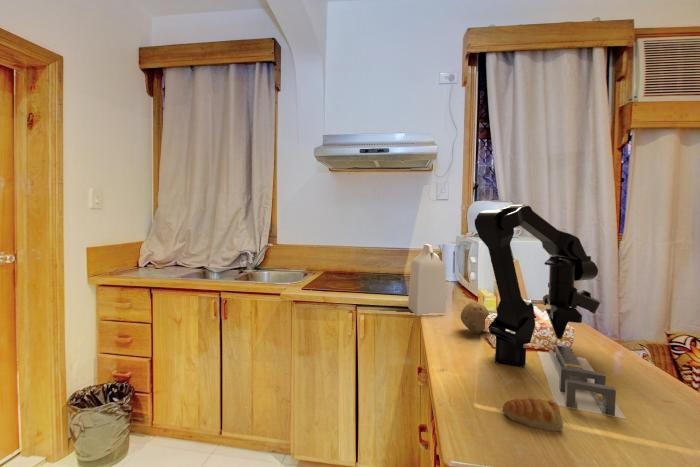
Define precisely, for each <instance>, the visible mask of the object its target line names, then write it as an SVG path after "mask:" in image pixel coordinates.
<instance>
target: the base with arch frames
mask: <svg viewBox="0 0 700 467" xmlns="http://www.w3.org/2000/svg"><path fill="white" fill-rule="evenodd" d="M536 352H537V354H538V358H539V361H540V364H541V365H542V369H543V372H544V374H545V378H546V380H547V384H548V386H549V388H550V392H551V395H552V397H553V401H554V402H556V403H557V404H558V406H559V407H562V408H563V407H564V408H568V409H573V410H577V411H582V412H588V413H593V414H596V415H597V414H599V415H603V416H609V417H613V418H620V419H623V420H627V417H626V416H625V415H624V412H622V410H621V408H620V407H619V405H618V404H617V402H616V398H617V390H616V389H615V387H614V386H611V385H607V384H606V375H605V373H604V372H599V371H595V370H594V368H593V367H592V366H591V364H590V363H589V361H588V360H587V358H585V357H580V356H576V354H575V353H574V355H575V357H576V358H577V360H578V362H579V363H580V365H581V366H582V368H583V370H581V369H574V368H568V367H561V366H560V365H559V363H558V360H557V358H556V353H555V352H554V350H553V349H548V352H543V351H536ZM569 375H571V376H577V377H583V378H587V382H582V381H576V380H570V379H569Z"/></svg>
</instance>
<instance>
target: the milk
mask: <svg viewBox="0 0 700 467" xmlns="http://www.w3.org/2000/svg"><path fill="white" fill-rule="evenodd" d="M409 271H410V272H409V283H408V284H409V286H408V299H407V300H408V301H407V308H408V309H409V310H410V311H411V312H413V314H414V315H416V317H422V316H421V315H422V314H429V313H447V312H448V311H447V267H446V265H445V263H444V262H443V261H442V260H441V259H440V256H439V255H438V254H437V253H435V252H434V248H433V245H431V244H428V243H423V247H422V250H421V252H420V253H419V254H418V255H417V256H415V257H414V258H413V259H412V260H411V262H410V270H409Z"/></svg>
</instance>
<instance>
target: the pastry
mask: <svg viewBox="0 0 700 467" xmlns="http://www.w3.org/2000/svg"><path fill="white" fill-rule="evenodd" d="M502 412H503V413H504V415H506V417H508V418H509V419H510V420H512V421H514V422H518V423H520V424H523V425H526V426H528V427H530V428H537V429H542V430H547V431H552V432H560V431H562V429H564V421H563V417H562V414H561V409H560V406H558V404H557V403H556V402H555V400H554V399H549V400H546V399H543V398H538V397H537V398H536V397H534V396H531V397H527V398H515V399H510V400H506V401H505V403H504V404H503V407H502Z"/></svg>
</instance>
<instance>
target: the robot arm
mask: <svg viewBox="0 0 700 467" xmlns="http://www.w3.org/2000/svg"><path fill="white" fill-rule="evenodd" d="M474 227H475V230H476V232H477V235H478V237H479V238H480V240H481V241H482V242H483V244H484V245H485V246H486V247H487V249H488V253H489V258H490V262H491V265H492V269H493V275H494V278H495V283H496V288H497V292H498V296H499V303H498V305H497V307H496V316H495V317H494V319H493V321H491V324H490V326H489V327H488V328H487V329H488V331H489V335H492V336H494V337H495V349H494V350H495V351H494V363H495V364H499V365H503V366H510V367H514V368H515V367H517V368H524V367H525V366H524V365H526V359H527V357H526V356H527V348H526V344H531V340H532V338H533V335H534V331H535V329H536V328H535V327H536V319H537V316H536V314H535V310H534V308H535V307H534V304H533V302H530V301H526V300H524V299H523V296H522V294H521V289H520V283H519V281H518V276H517V275H518V274H517V270H516V267H515V262H514V258H513V253H512V249H511V242H512V239H513V237H514V235H515V228H518V227H521V228H523V230H525V231H527V232H528V233H529V234H530V235H532V236H533V237H535V238H536V239H537V240H539V242H541V245H542V249H544V250H545V252H547V254H548V255H550V257H549V258H548V259H547V260H545V262H544V265H545V266H549V277H548V278H549V280H548V281H549V282H547V287H548V294H545V295H543V297H542V304H543V306H547V304H548V306H549V308H545V311H546V314H547V316H548V319H549V321H550V325H551V327H552V330H553V332H554V335H555V337H556V339H557V340H562V339H563V335H564V334H565V331H566V328H567V325H568V324H569V323H577V324H582V322H583V314H581V313H580V311H579V310H577V308H578V307H580V308H581V309H585V310H587V311H589V312H590V313H592V314H596V313H597V310H598V309H599V307H600V305H601V302H600V301H599V300H598V299H596V298H594V297H592V294H591V293H590V292H589V291H587V290H585V289H582V290H581V291H578V288H576V286H575V282H579V281H590V280H594V279H595V278H596V277H597V276H598V273H599V268H598V266H597V264H596V263H595V262H594V261H593V260H592V256H591V255H587V253H586V251H585V249H584V246H583V245H582V243H581V240H580V238H579V237H578V236H575V235H573V234H571V233H568V232H565V231H561V230H559V229H557V228H556V227H554V226H553V225H552V224H551V223H550V222H548V221H547V220H546V219H544V218H543V217H542V216H541V215H539V214H538V213H537V212H535V211H534V210H533V208H532V207H531V206H530V205H527V204H511V205H509V206H507V207H503V208H500V209H496V210H495V209H494V210H481V211H480V212H479V213H478V214H477V216H476V218H474ZM510 331H511V332H510ZM512 332H513V333H512Z"/></svg>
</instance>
